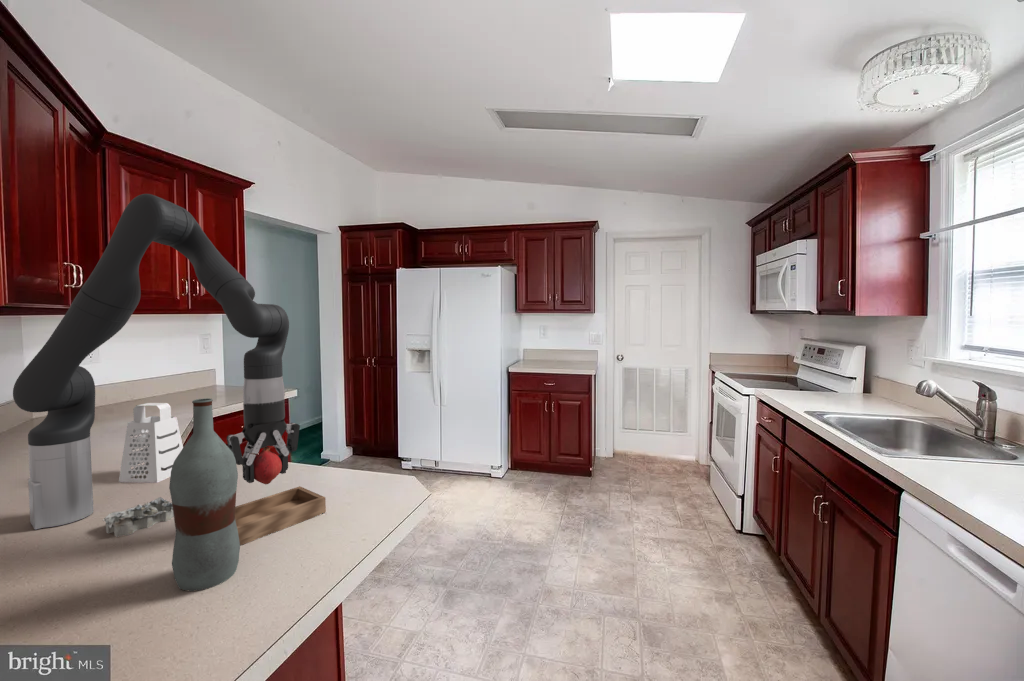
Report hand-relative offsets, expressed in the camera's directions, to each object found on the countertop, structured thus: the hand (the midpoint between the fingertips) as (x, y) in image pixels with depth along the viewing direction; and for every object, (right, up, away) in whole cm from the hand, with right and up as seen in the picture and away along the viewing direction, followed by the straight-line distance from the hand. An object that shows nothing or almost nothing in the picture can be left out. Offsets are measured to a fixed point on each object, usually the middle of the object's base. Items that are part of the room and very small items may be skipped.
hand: (266, 476), depth 91 cm
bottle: (+1, -11, -19) cm, 22 cm away
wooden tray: (0, -10, 0) cm, 10 cm away
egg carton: (-27, -10, 0) cm, 28 cm away
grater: (-48, -9, +28) cm, 56 cm away
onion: (0, -2, 0) cm, 2 cm away
